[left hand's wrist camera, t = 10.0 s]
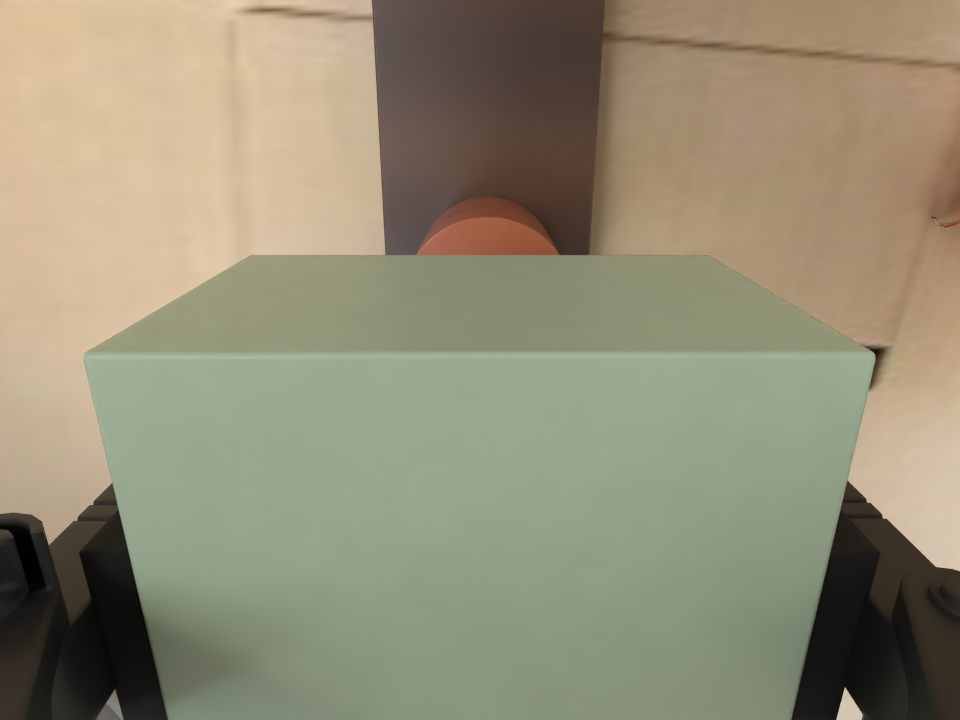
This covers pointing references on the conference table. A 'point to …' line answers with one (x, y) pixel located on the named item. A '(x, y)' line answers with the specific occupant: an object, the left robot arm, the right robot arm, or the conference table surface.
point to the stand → (487, 124)
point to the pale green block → (479, 487)
